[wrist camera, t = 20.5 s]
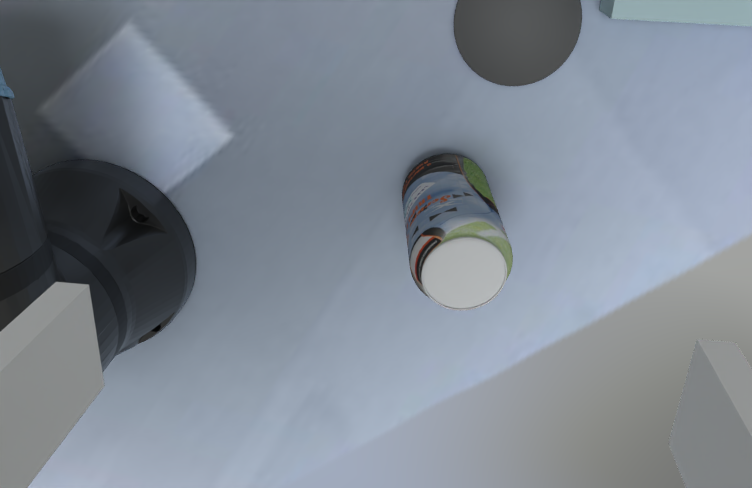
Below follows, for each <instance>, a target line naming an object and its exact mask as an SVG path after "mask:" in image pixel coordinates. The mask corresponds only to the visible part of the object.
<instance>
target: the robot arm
mask: <svg viewBox="0 0 752 488" xmlns="http://www.w3.org/2000/svg"><path fill="white" fill-rule="evenodd" d="M12 98H15V97H14V94H13V91H12V90H11V89H10V88H9V87H8V86H6V83H5V80H4V77H3V74H2V71H1V68H0V488H27V487H28V486H29V485H30V483H31V482H32V481H33V479H34V478H35V477H36V475H37V474H38V473H39V471H40V470H41V469H42V468H43V466H44V465H45V464H46V462H47V461H48V460H49V458H50V457H51V456H52V454H53V453H54V452H55V450H56V449H57V448H58V447H59V445H60V444H61V443H62V441H63V440H64V439H65V437H66V436H67V435H68V433H69V432H70V431H71V429H72V428H73V427H74V425H75V424H76V423H77V422H78V420H79V419H80V418H81V416H82V415H83V414H84V412H85V411H86V410H87V408H88V407H89V406H90V404H91V403H92V402H93V401H94V399H95V398H96V397H97V395H98V394H99V393H100V391H101V390H102V389H103V387H104V379H103V373H102V372H103V371H104V370H105V369H106V367H107V366H108V365H109V363H110V362H111V361H112V359H113V358H114V357H115V356H116V355H118V354H120V353H122V352H124V351H126V350H128V349H130V348H132V347H134V346H136V345H137V344H139V343H141V342H144V341H146V340H148V339H149V338H151V337H153V336H155V335H156V334H158V333H159V332H161V331H162V330H163V329H164V328H165V327H166V326H168V324H169V323H170V322H171V321H172V320H173V319H174V318H175V316H176V315H177V314H178V312H179V311H180V309H181V308H182V307H183V305H184V304H185V302H186V301H187V299H188V297H189V295H190V293H191V290H192V287H193V284H194V279H195V272H196V260H195V252H194V247H193V243H192V240H191V237H190V234H189V232H188V229H187V227H186V225H185V223H184V221H183V220H182V218H181V216H180V215H179V213H178V212H177V210H176V209H175V208H174V206H173V205H172V204H171V203H170V201H169V200H168V199H167V198H166V197H165V196H164V195H163V194H162V193H161V192H160V191H159V190H158V189H156V188H155V187H154V186H153V185H151V184H150V183H149V182H147V181H146V180H144V179H143V178H141V177H140V176H138V175H136V174H134V173H132V172H130V171H128V170H126V169H124V168H121V167H119V166H116V165H113V164H109V163H105V162H100V161H94V160H71V161H65V162H61V163H57V164H54V165H51V166H49V167H47V168H45V169H43V170H41V171H40V172H38V173H36V174H35V175H33V176H32V172H31V168H30V165H29V161H28V157H27V154H26V150H25V146H24V143H23V139H22V135H21V132H20V128H19V124H18V121H17V117H16V113H15V110H14V106H13V103H12ZM669 446H670V449H671V451H672V454H673V456H674V459H675V461H676V464H677V467H678V469H679V472H680V474H681V477H682V479H683V482H684V484H685V487H686V488H752V368H751V366H750V365H749V363H748V361H747V360H746V358H745V357H744V355H743V354H742V352H741V350H740V349H739V347H738V346H737V344H736V343H735V342H725V341H714V340H703V339H697V341H696V344H695V348H694V352H693V355H692V359H691V363H690V366H689V370H688V374H687V377H686V381H685V385H684V388H683V392H682V395H681V399H680V403H679V406H678V410H677V414H676V417H675V421H674V425H673V429H672V432H671V436H670V439H669Z"/></svg>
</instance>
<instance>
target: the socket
mask: <svg viewBox="0 0 752 488" xmlns="http://www.w3.org/2000/svg"><path fill="white" fill-rule="evenodd" d="M599 11H601V12H602V13H604V14H605V15H607V16H608V17H609V18H611V19H624V20H642V21H660V22H678V23H697V24H715V25H733V26H751V27H752V0H601V3H600V9H599Z"/></svg>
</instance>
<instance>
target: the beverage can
mask: <svg viewBox="0 0 752 488" xmlns="http://www.w3.org/2000/svg"><path fill="white" fill-rule="evenodd" d="M402 201H403V209H404V218H405V227H406V236H407V245H408V254H409V262H410V269H411V274H412V277H413V279H414V281H415V283H416V285H417V286H418V287H419V289H420V290H421V291H422V292H423V293H424V294H425V295H426V296H428V297H429V298H431V299H432V300H433V301H434V302H435V303H437V304H438V305H440V306H442V307H445V308H448V309H451V310H459V311H461V310H471V309H475V308H478V307H481V306H483V305H485V304H487V303H489V302H490V301H491V300H493V299H494V298H495V297H496V296H497V295H498V294H499V293H500V291H501V290H502V288H503V286H504V284H505V282H506V280H507V278H508V276H509V274H510V271H511V267H512V258H513V256H512V249H511V246H510V243H509V240H508V237H507V235H506V232H505V229H504V227H503V224H502V221H501V218H500V216H499V213H498V210H497V207H496V205H495V202H494V199H493V197H492V194H491V191H490V188H489V186H488V183H487V180H486V178H485V175H484V174H483V172H482V170H481V169H480V168H479V167H478V166H477V165H476V164H475V163H474V162H472V161H471V160H469V159H467V158H465V157H462V156H459V155H454V154H441V155H436V156H432V157H430V158H427V159H425V160H424V161H422V162H420V163H419V164H418V165H417V166H415V167H414V168H413V169H412V171H411V172H410V173H409V175H408V176H407V178H406V180H405V183H404V185H403V191H402Z"/></svg>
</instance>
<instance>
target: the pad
mask: <svg viewBox="0 0 752 488" xmlns="http://www.w3.org/2000/svg"><path fill="white" fill-rule="evenodd" d="M581 22H582V9H581V3H580V0H458V3H457V6H456V10H455V16H454V34H455V39H456V43H457V46H458V49H459V52H460V54H461V55H462V57H463V59H464V60H465V62H466V63H467V64H468V66H469V67H470V68H471V69H472V70H473V71H474V72H476V73H477V74H478V75H479V76H481V77H483V78H484V79H486V80H488V81H490V82H493V83H496V84H500V85H505V86H522V85H527V84H531V83H535V82H537V81H540V80H542V79H544V78H546V77H547V76H549V75H550V74H552V73H553V72H555V71H556V70H557V69H558V68H559V67H560V66H561V65H562V64H563V63H564V62H565V61H566V60H567V58H568V57H569V55H570V54H571V52H572V51H573V49H574V47H575V45H576V43H577V40H578V37H579V34H580V29H581Z"/></svg>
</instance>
